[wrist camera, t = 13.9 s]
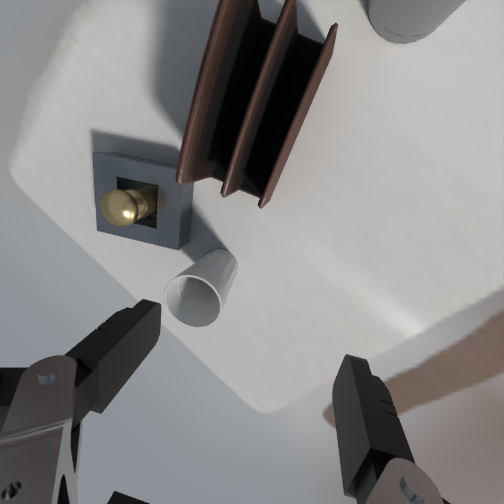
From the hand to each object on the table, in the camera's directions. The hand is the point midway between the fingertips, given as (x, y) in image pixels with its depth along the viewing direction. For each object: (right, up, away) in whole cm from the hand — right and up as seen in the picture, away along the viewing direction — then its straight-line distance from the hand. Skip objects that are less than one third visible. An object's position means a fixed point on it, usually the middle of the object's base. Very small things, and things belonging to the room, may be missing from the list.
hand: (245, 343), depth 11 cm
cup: (-5, +2, +33) cm, 34 cm away
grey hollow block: (-16, +13, +31) cm, 37 cm away
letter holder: (+2, +22, +25) cm, 33 cm away
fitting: (-16, +13, +31) cm, 37 cm away
